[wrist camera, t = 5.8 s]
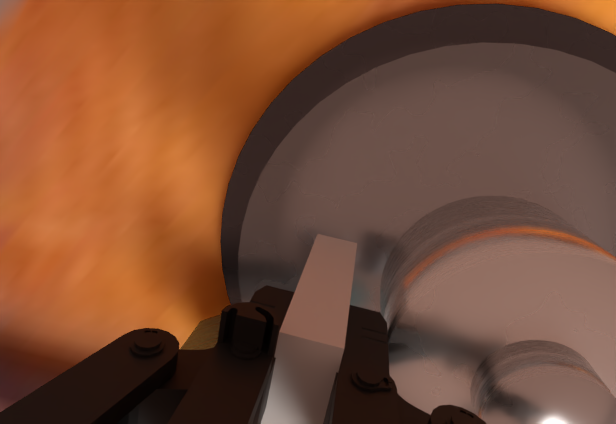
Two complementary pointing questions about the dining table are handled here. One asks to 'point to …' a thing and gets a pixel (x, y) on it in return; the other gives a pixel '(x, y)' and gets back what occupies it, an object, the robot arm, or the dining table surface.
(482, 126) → the turntable
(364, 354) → the robot arm
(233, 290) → the base plate
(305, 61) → the dining table surface
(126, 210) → the dining table surface
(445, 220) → the cover
